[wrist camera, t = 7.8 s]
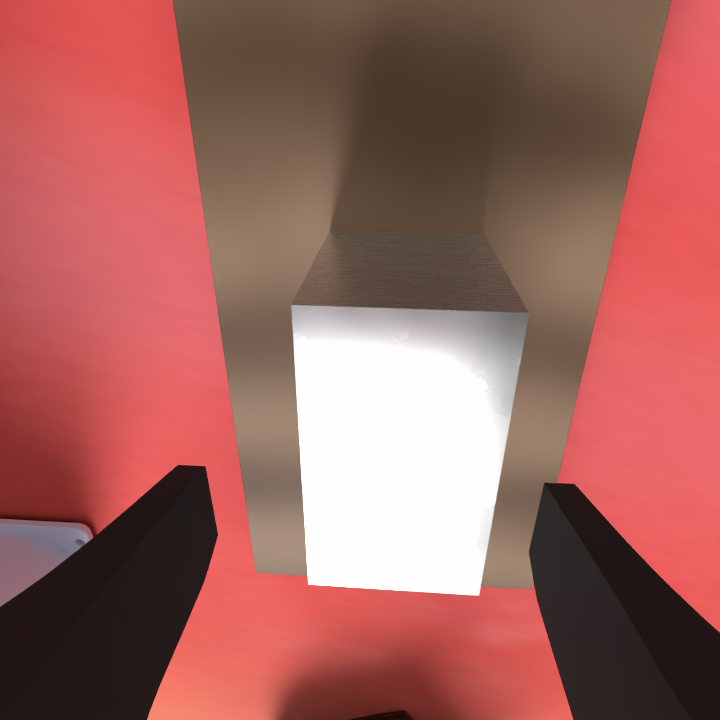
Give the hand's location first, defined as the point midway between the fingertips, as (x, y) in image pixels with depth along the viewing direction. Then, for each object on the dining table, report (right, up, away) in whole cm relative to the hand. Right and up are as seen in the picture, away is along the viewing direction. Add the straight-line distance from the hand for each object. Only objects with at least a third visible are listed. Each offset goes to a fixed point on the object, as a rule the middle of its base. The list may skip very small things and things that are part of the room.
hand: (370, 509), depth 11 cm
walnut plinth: (+1, +4, +8) cm, 9 cm away
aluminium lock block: (+1, +4, +6) cm, 7 cm away
